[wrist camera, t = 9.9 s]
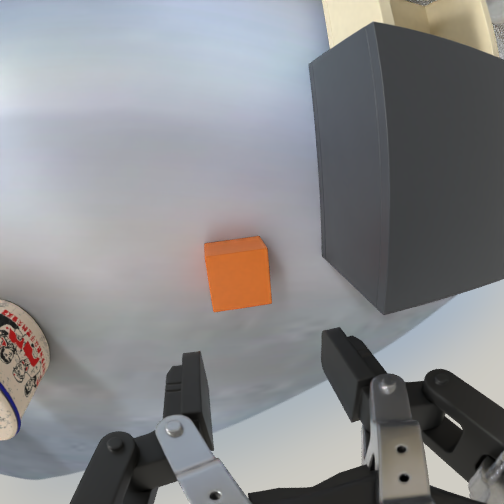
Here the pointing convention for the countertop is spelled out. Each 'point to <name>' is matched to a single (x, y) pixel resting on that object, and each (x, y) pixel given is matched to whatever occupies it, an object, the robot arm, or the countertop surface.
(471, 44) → the drawer
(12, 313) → the teacup with lid
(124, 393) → the countertop surface
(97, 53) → the countertop surface
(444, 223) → the dark grey cabinet box
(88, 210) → the countertop surface
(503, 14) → the chrome metal cylinder
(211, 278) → the orange matte cube
